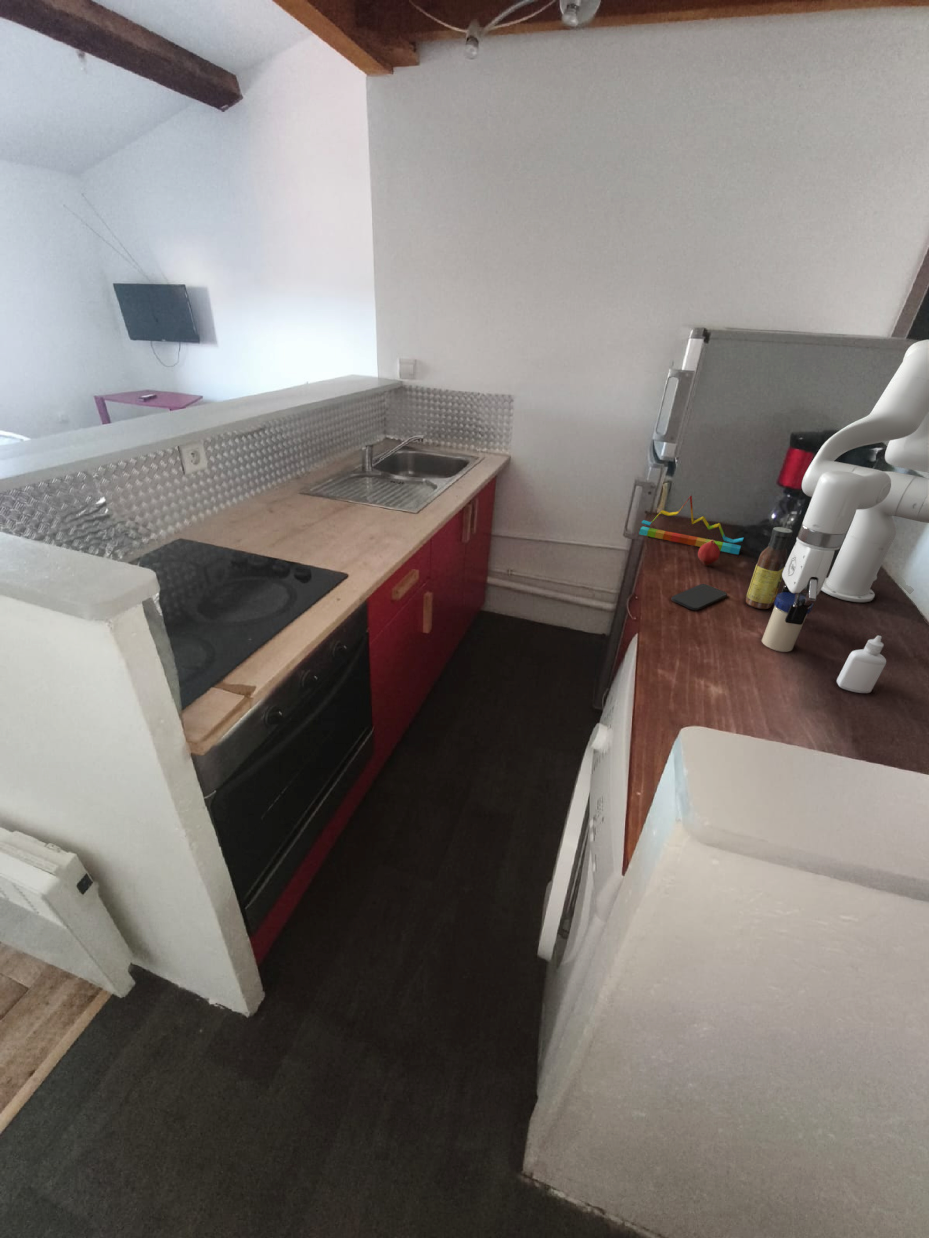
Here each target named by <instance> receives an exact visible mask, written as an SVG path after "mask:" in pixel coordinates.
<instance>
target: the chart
mask: <svg viewBox="0 0 929 1238" xmlns="http://www.w3.org/2000/svg"><path fill="white" fill-rule="evenodd" d="M688 501H689V504H690V505H689V506H690V518H691V525H694V524H696V523H698V522H700V521H702V522H703V524H704V525H705V527H706V529H707V530H712V529H716V528H718V529H719V532H720V535H721V537H722V540H723V541H719V540H715V543H716V544H717V545H718V547H719V549H720V552H724V553H728V554H733V555H739V554H740V550H741V547H742V545H740V544H736V543H741V542H744V541H743V540H744V538H745V537H739V538H734V539H733V538H730V537H728V536H725V533H724V530H723V527H722V525H721V523H720V522H718V523H715V524H712V525H710V524H709V522H708V521H707V519H706V517H705V516H701V517H699V518H697V519H694V509H693V495H690V496H689V497H688V498H687V500H686V501H685V503H684V504H683V505H682V506H681V508H680V509H679V510H678V511H672V512H669V511H667V510H664V509H661V510H660V511H659V513H658V514H657V515H656V516H655V518H654V519H653V520H652V521H648V520H645V519H643V520H642V521H641V524H642V525H643V526H641V527H640V528H639V532H638V535H640V536H646V537H650V538H655V539H660V540H665V541H669V542H674V543H680V544H684V545H689V546H694V547H699V548H700V547H701V546H702V545H703V544H705V543H707V542H710V541H711V540H712V539H708V538H704V537H698V536H693V535H688V534H684V533H683V534H682V533H678V532H674V531H669V530H662V529H658V528H652V527H649V526H651V524H652V523H653V522H654V521H655V520H656V519H657V517H659V515H660V514H662V515H664V516H668V517H671V516H677V515H678V514H679V513H680V511H681V510H682V509H683V508H684V506H685V505H686V504H687V502H688ZM644 525H645V526H644Z"/></svg>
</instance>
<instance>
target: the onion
mask: <svg viewBox="0 0 929 1238" xmlns="http://www.w3.org/2000/svg"><path fill="white" fill-rule="evenodd" d="M710 540H711V541H710V542H707V543H705V544H703V545H702V546H701V547H699V548H698V550H697V557H698V559H699V561H700V562H701V563H702V564H703V566H709V565H711V564H714V563H715V562H716V561H718V560H719V558H720V556H721V551H720V549H719V547H718V545H717V544H716V543H715V541H716V540H714V539H710Z"/></svg>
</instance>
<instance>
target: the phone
mask: <svg viewBox="0 0 929 1238" xmlns="http://www.w3.org/2000/svg"><path fill="white" fill-rule="evenodd" d="M727 596H728V593H727V592H726V591H723V590H721V589H720V588H719V589H718V588H716V587H714V586H711V585H709V584H706V583H701V584H698V585H695V586H694V587H691V588H688V589H687V590H684V591H681V592H679V593H677V594H675V595H673V596H671V601H672V602H674V603H676V604H679V605H681V606H683V607H685V608H687V609H689V610H691V611H699V610H701V609H703V608H706V607H708V606H710V605H712V604H714V603H717V602H718V601H721V600H723V599H724V598H726V597H727Z"/></svg>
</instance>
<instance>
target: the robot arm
mask: <svg viewBox="0 0 929 1238" xmlns="http://www.w3.org/2000/svg"><path fill="white" fill-rule="evenodd" d="M884 442H888V444H887V446H886V448H885V449H886V450H885V453H884V460H885V462H886V463H887V464H888V465H891V466H893V467H897V468H901V469H907V470H910V471H911V470H912V471H917V472H922V473H928V474H929V339H923V340H919V341H917V342H914V343H913V344H911V345H910V346H909V347H908V348H907V350H906V351H905V353H904V356H903V359H902V362H901V364H900V365H899V367H898V368H897V370H896V372H895V373H894V375H893V376H892V378H891V380H890V381H889V383H888V384H887V386H886V388H885V389H884V391H883V393H882V394H881V395H880V397H879V399H878V400H877V402H876V403H875V405H874V407H873V408H872V410H871V412H870V413H869V414H868V415H866V416H864V417H862V418H860V419H857V420H856V421H853V422H852V423H849V424H848V425H846V426H845V427H843V428H841V429H840V430H838V431H837V432H836V433H834V434H833V435H831V436H830V437H829V438H828V439H827V440H826V441H824V443H823V444H822V445H821V447H820V449H818V452H817V453H816V454H815V455H814V458H812V459H813V460H812V461H811V463H810V464H809V466H808V468H807V469H806V471H805V473H804V475H803V478H802V480H801V489H802V492H803V493H804V494H805V495H806V496H807V497H809V498H811V499H810V501H809V505H808V508H807V510H806V512H805V514H804V518H803V521H802V523H801V525H800V529H799V531H798V533H797V536H796V541H795V544H794V545H793V548H792V550H791V551H790V554H789V556H788V557H787V563H786V565H785V568H784V570H783V572H782V577H783V578H782V580H783V581H784V584H783V588H782V590H781V593H782V592H790V593H796V595H795V599H794V604H793V605H791V606H790V609H789V611H788V614H787V616H786V619H785V622H786V623H792V624H798V625H802V624H803V621H804V619H805V617H806V618H807V616H806V614H807V612H808V610H809V609H810V607H811V605H812V603H813V604H814V603H815V602H816V601H817V596H818V595H819V594H820V592H821V591H822V592H823V593H824V594H827V595H828V596H830V597H833V598H836V599H839V600H842V601H847V602H851V603H868V602H871V601H873V600H874V598H875V596H876V593H875V592H874V591H873V590H872V589H871V587H872V585H873V583H874V582H876V581H877V579H878V574H879V571H880V570H881V567H882V565H883V562H884V561H885V558H886V557H887V555H888V552H889V550H890V548H891V547H892V545H893V542H894V541H895V538H896V535H897V527H896V526H897V525H896V523H895V521H894V517H898V518H902V519H906V520H911V521H915V522H919V523H926V524H929V477H924V476H918V475H915V474H908V473H902V472H897V471H888V470H887V471H886V470H885V471H882V470H880V469H877V468H872V467H866V466H860V465H856V464H852V463H845V462H839V461H836V460H837V459H838V458H839V457H841V455H843V454H845V453H846V452H849V451H851V450H853V449H857V448H861V447H865V446H868V445H869V446H870V445H874V444H879V443H884ZM838 550H839V551H838ZM836 551H838V554H837V556H836V558H835V560H834V563H833V565H832V562H833V559H834V556H835V552H836ZM831 565H832V568H831ZM830 568H831V570H830ZM829 571H830V572H829ZM828 573H829V574H828ZM827 576H828V577H827ZM802 591H803V592H802ZM804 591H806V592H804ZM800 595H802V596H805V599H801V600H800ZM799 600H800V601H799ZM807 615H808V614H807ZM805 620H806V619H805ZM804 622H805V621H804ZM803 625H804V624H803Z"/></svg>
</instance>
